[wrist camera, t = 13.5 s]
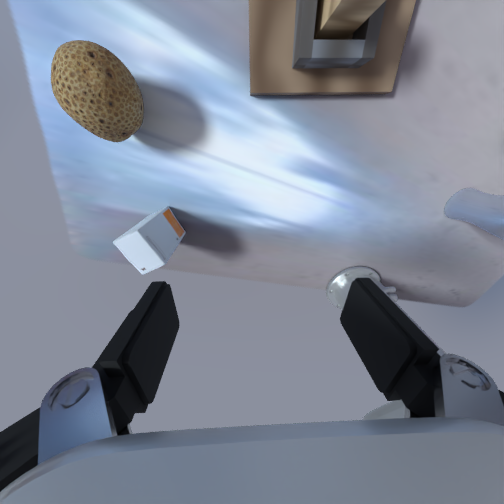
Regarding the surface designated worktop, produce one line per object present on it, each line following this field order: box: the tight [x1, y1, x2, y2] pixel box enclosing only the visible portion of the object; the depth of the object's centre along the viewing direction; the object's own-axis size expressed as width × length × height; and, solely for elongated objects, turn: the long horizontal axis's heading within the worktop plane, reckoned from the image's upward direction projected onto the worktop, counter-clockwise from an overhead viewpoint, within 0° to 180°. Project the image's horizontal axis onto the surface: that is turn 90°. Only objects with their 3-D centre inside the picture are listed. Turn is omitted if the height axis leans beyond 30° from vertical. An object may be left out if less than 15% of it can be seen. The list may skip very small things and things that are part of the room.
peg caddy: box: [249, 0, 416, 96], centre depth 22 cm, size 20×14×5 cm
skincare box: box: [113, 206, 186, 275], centre depth 31 cm, size 6×4×12 cm
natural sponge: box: [51, 40, 144, 142], centre depth 23 cm, size 9×9×10 cm
